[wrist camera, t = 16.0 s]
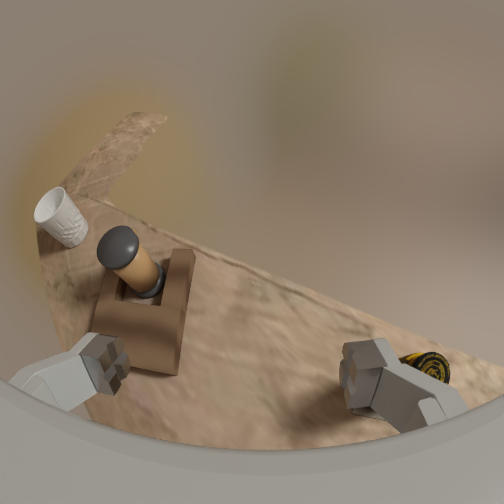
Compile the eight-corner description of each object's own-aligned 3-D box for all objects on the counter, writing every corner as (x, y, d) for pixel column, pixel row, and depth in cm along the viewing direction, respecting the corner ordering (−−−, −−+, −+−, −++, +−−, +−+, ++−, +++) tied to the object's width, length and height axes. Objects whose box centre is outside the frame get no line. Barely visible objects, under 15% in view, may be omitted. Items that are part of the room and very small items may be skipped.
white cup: (56, 248, 45) (27, 221, 36) (72, 216, 48) (47, 187, 40) (80, 253, 43) (50, 224, 35) (97, 218, 47) (71, 186, 38)
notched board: (177, 375, 33) (171, 374, 31) (95, 357, 34) (86, 354, 32) (195, 257, 41) (191, 249, 39) (120, 253, 43) (113, 246, 41)
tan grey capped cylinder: (161, 300, 38) (128, 268, 29) (129, 296, 39) (91, 265, 29) (170, 258, 42) (143, 217, 32) (139, 256, 42) (107, 218, 33)
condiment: (412, 365, 31) (462, 350, 20) (396, 422, 27) (444, 428, 17) (369, 354, 33) (409, 336, 22) (351, 413, 29) (386, 421, 18)
